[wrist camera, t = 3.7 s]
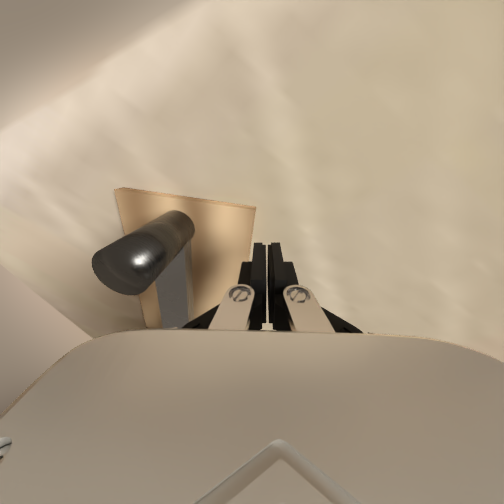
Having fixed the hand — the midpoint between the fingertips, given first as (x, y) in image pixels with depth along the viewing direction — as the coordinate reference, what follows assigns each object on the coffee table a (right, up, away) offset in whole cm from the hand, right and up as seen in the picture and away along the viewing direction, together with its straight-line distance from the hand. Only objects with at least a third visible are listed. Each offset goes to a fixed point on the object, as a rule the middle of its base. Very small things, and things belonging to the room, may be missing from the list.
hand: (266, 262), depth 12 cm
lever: (-11, -3, +9) cm, 15 cm away
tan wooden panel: (-9, -7, +12) cm, 17 cm away
